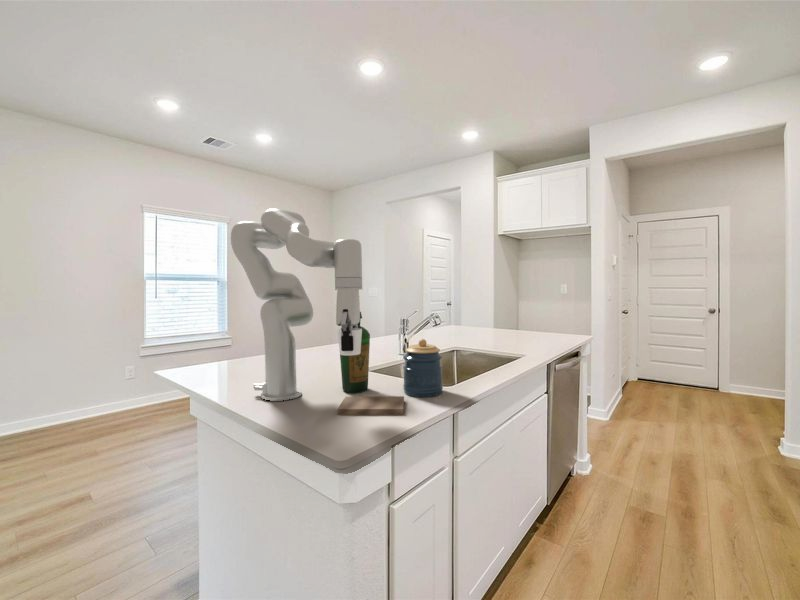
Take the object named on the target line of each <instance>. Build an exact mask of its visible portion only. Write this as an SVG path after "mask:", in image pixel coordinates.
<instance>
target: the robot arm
mask: <svg viewBox="0 0 800 600" xmlns="http://www.w3.org/2000/svg"><path fill="white" fill-rule="evenodd" d="M230 231H231V232H230V244H231V249H232V251H233V254H234V255H235V257H236V258H237V260H238V262H239V263H240V265H241V266H242V268H243V269H244V272H245V273H246V276H247V278H248V279H247V280H248V281H249V282H250V285H251V287H252V290H253V292H254V293H255V296H256V297H257V298H258V299H260V300H263V301H265V302H264V303H263V304H262V306H261V307H260V315H259V316H260V320H261V325H262V330H263V338H264V340H263V342H264V364H265V366H264V369H265V370H264V371H265V376H264V377H265V378H264V379H265V382H263V383H262V382H261V383H260V382H259V383H253V389H254V390H253V391H261V393H260V399H261V398H262V399H261V400H263V399H265V400H264V401H266V400H270V401H269V402H282V401H283V400H284V401H289V399H290V400H293V399H296V398H299V397H300V396H302V389H300V388H298V387H297V358H296V357H297V350H296V349H297V347H296V344H297V343H296V338H295V336H294V334H293V331H292V330H291V329H290V328H293V327H302V326H305V325H308V324H309V323H310V322H312V319H313V317H314V308H313V305H312V302H311V301H310V298H309V296H308V294H307V293H306V290H305V288H304V286H303V284H302V283H301V281H300V279H299V278H298V277H297V276H296V275H295V274H293V273H291V272H287V271H286V272H284V271H276V270H275V269H274V268H273V266H272V264H271V262H270V260H269V258H268V257H267V255H265V254H264V252H262V251H261V250H260V249H268V250H269V249H270V250H278V249H281V248H283V247H285V248H286V251H287V253H288V254H289V255H290V257H291V258H293V259H294V260H296V261H298V262H299V263H301V264H303V265H305V266H307V267H311V268H325V269H334V290H335V291H336V304H335V306H336V307H335V308H336V309H335V310H336V311H335V312H336V313H335V314H336V315H335V316H336V317H335V320H336V321H335V324H336V326H338V327H340V329H341V350H342V351H353V349H354V348H353V336H352V328H358V323H359V321H360V312H361V311H360V310H361V308H360V303H361V302H360V290H363V259H362V243H361V242H360V240H358V239H355V238H354V239H351V238H343V239H337V240H335V242H333V241H327V240H320V239H313V238H310V229H309V227H308V225H307V224H306V221H305V219H304V217H303V216H302V215H301V214H299V213H297V212H294V211H290V210H285V209H279V208H269V209H266V210H265V211H264V212H263V213H262V214H261V216H260V222H258V221H250V220H249V221H248V220H247V221H246V220H243V221H239V222H237V223H235V224H234V226H232V228H231V230H230ZM258 248H260V249H258ZM360 322H361V321H360ZM349 328H350V329H349Z"/></svg>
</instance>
